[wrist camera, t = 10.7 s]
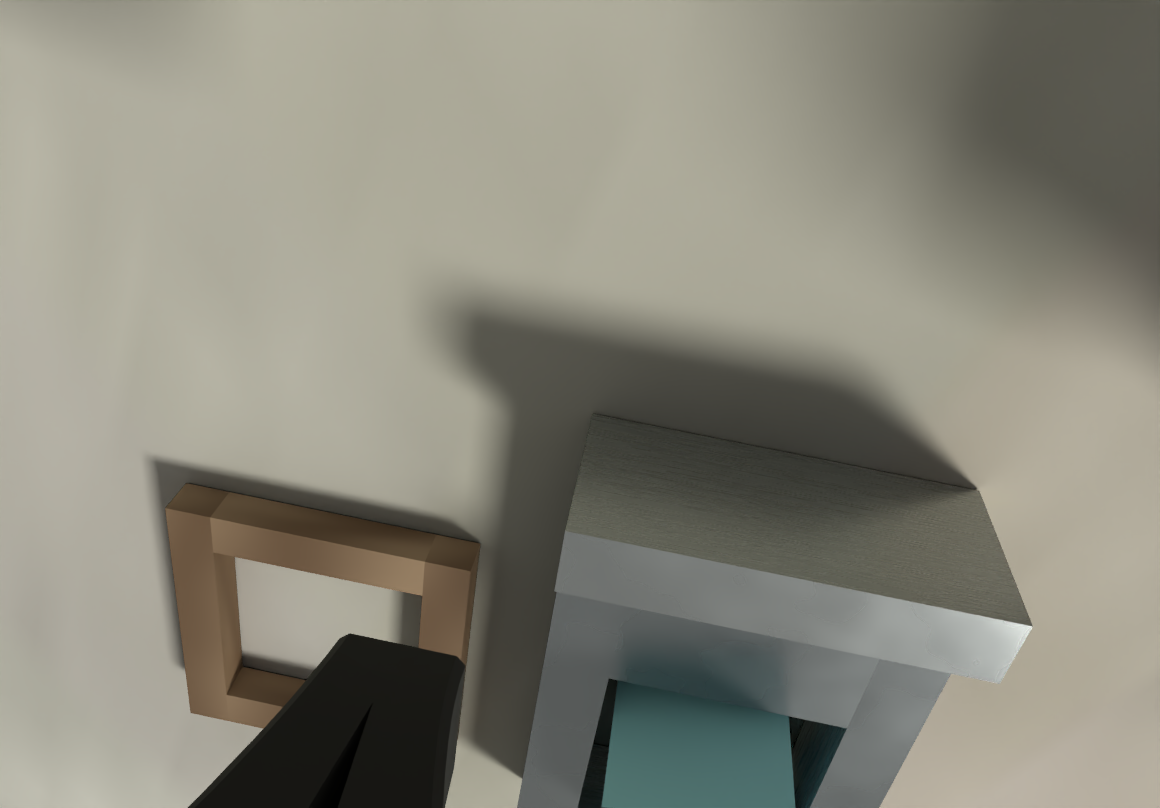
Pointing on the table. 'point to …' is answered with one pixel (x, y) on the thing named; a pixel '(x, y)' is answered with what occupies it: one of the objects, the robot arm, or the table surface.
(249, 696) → the brown square frame
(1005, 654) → the port
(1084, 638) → the table surface
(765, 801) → the plug
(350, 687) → the robot arm
